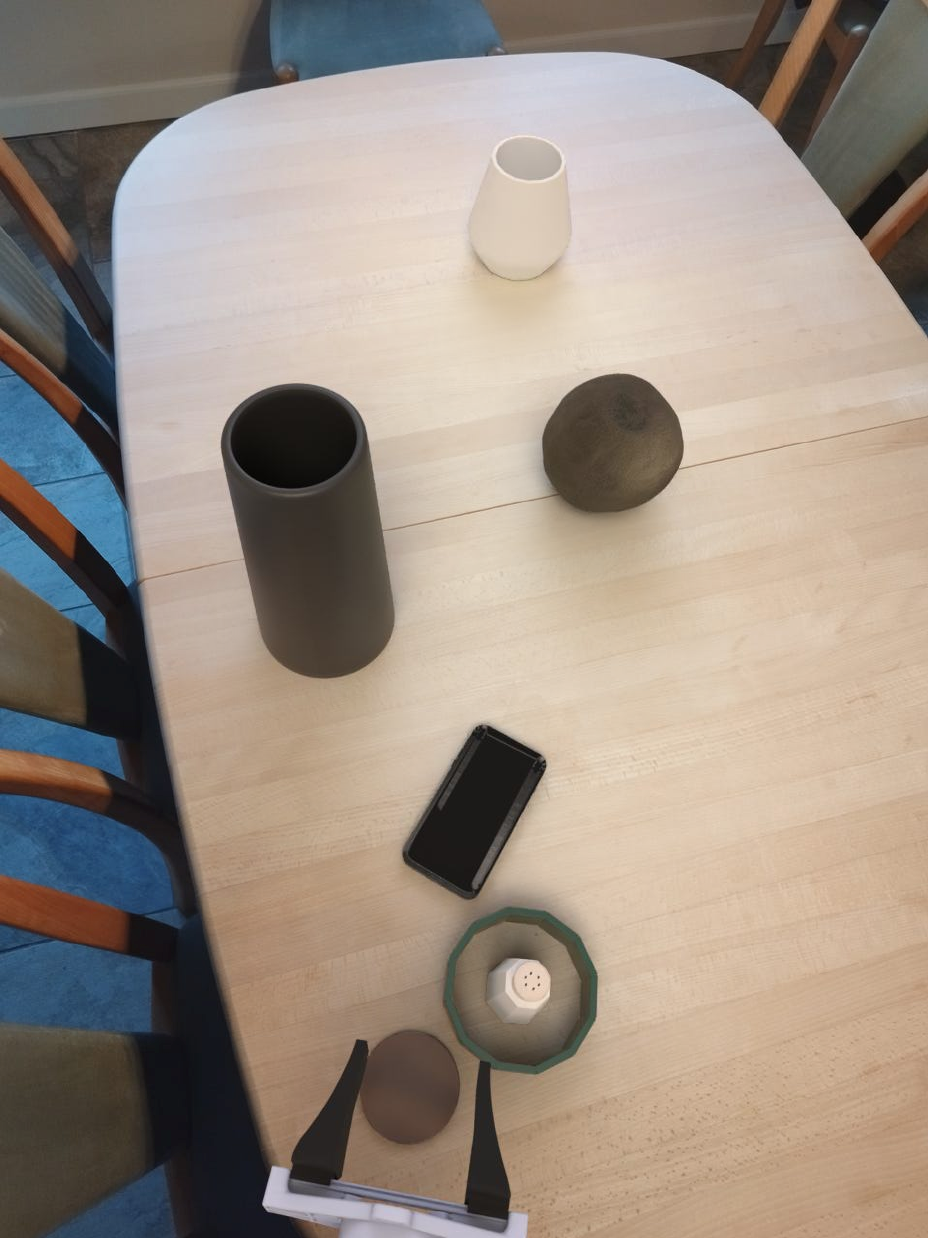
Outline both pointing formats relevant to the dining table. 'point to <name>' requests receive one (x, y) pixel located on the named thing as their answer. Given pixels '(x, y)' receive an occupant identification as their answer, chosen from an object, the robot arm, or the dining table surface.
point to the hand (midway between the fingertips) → (423, 1055)
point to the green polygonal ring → (580, 962)
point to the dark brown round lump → (612, 444)
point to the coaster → (410, 1087)
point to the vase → (309, 528)
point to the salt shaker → (518, 990)
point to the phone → (474, 812)
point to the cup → (522, 209)
